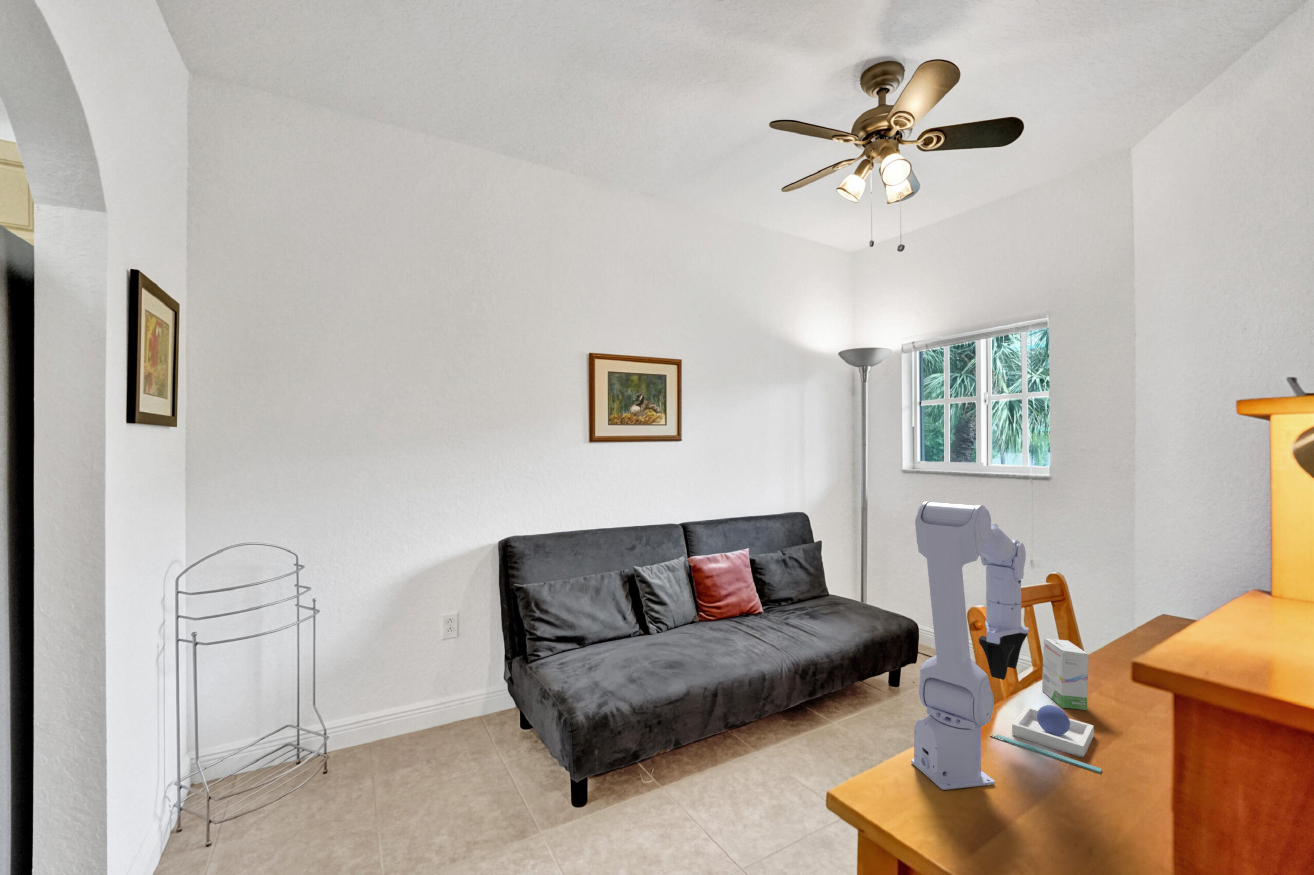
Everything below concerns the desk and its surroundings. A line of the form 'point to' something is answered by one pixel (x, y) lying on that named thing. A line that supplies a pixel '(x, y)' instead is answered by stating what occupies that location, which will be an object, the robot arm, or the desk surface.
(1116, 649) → the desk surface
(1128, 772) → the desk surface
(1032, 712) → the tray
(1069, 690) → the ink box
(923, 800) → the desk surface
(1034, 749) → the teal line
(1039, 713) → the ball
